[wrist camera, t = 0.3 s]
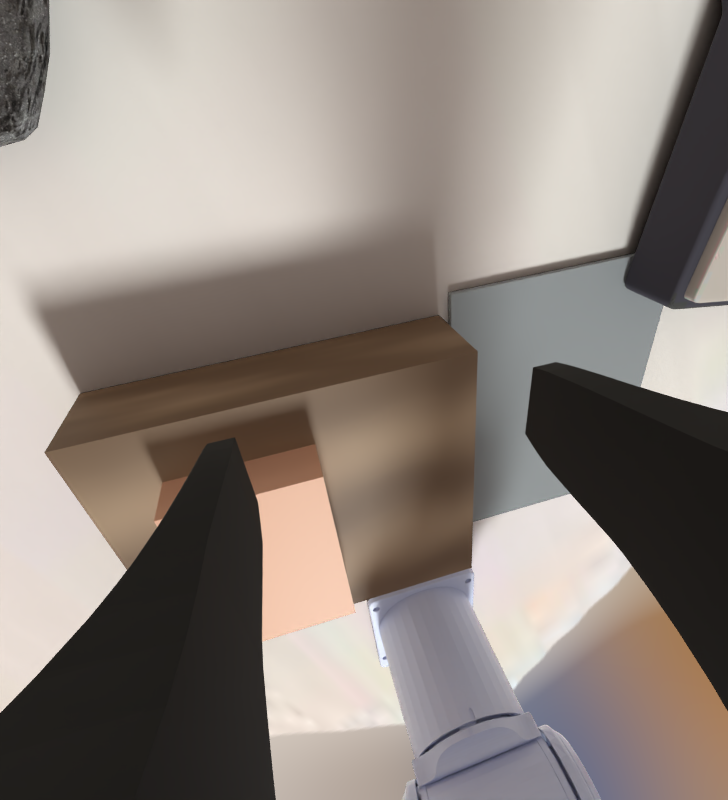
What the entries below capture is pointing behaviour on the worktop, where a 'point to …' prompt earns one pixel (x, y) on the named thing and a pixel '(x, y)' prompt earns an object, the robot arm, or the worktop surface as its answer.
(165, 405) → the brown flat block
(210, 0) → the worktop surface
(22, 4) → the serving board
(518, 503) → the mat
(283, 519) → the peach upright slab
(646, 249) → the calculator
